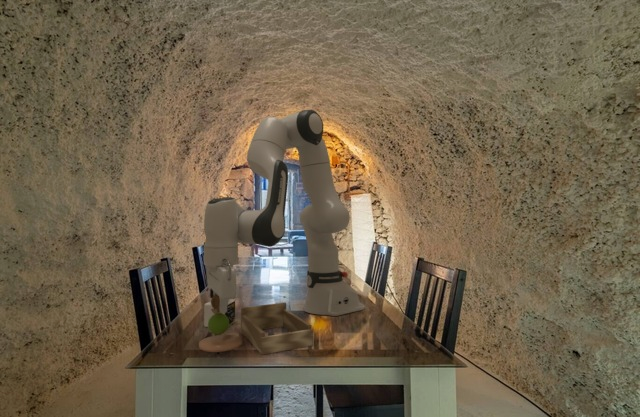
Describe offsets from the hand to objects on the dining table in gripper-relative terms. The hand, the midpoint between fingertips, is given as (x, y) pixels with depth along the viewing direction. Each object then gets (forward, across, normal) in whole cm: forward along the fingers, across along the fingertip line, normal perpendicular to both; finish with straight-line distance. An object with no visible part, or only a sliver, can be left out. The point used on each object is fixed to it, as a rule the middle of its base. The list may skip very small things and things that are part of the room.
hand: (220, 309), depth 95 cm
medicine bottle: (+9, +18, -4) cm, 21 cm away
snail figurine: (+6, -1, 0) cm, 7 cm away
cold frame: (+9, -2, -15) cm, 17 cm away
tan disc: (+9, 0, 0) cm, 9 cm away
